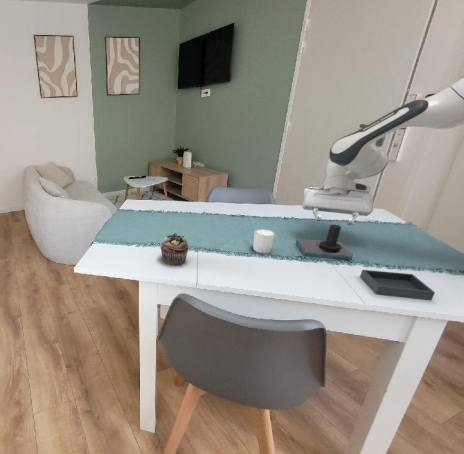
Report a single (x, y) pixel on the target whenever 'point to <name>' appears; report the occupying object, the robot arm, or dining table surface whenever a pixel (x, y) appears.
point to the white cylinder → (263, 240)
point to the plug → (332, 238)
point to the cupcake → (174, 249)
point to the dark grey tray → (396, 284)
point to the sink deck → (322, 250)
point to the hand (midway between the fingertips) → (333, 222)
